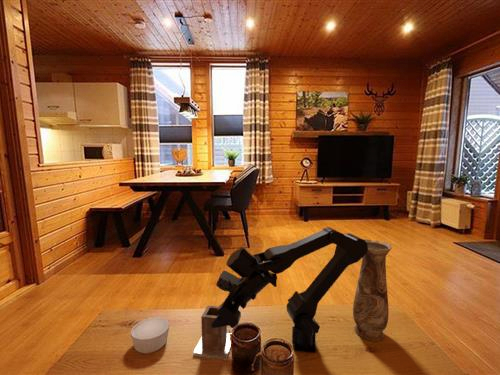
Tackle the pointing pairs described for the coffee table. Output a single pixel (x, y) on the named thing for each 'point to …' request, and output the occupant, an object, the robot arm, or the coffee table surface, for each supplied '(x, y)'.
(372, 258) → the vase
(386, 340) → the coffee table surface
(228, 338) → the glossy square coaster
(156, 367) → the coffee table surface
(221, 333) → the square pencil cup
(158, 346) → the ramekin
